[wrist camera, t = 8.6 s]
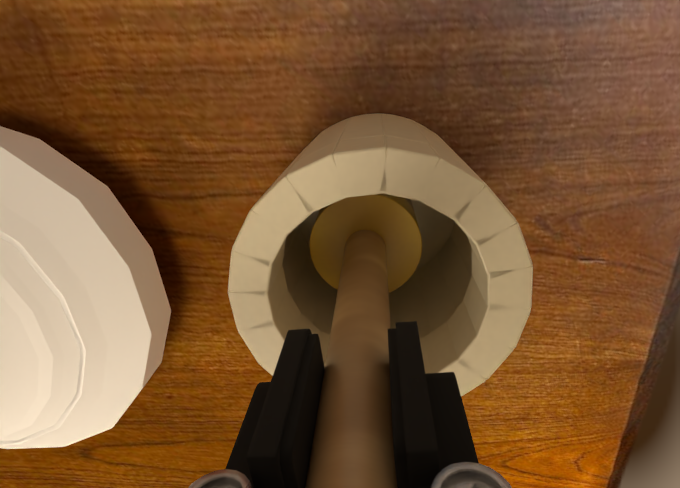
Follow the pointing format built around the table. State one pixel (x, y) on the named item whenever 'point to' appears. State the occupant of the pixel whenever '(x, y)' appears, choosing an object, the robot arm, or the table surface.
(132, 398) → the candle holder
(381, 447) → the brush
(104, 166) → the table surface
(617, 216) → the table surface
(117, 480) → the table surface
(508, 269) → the jar
